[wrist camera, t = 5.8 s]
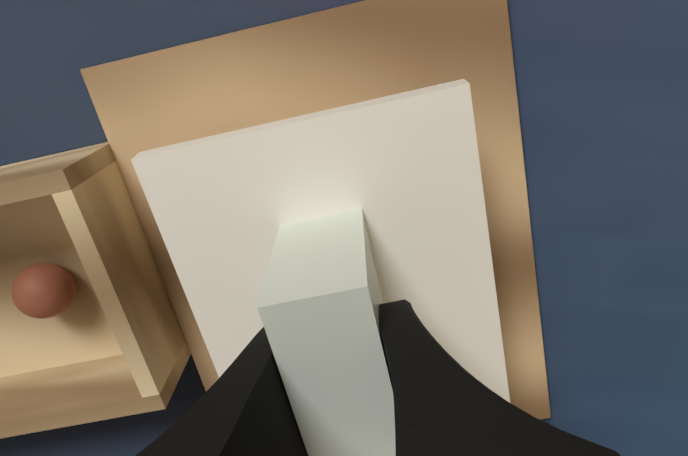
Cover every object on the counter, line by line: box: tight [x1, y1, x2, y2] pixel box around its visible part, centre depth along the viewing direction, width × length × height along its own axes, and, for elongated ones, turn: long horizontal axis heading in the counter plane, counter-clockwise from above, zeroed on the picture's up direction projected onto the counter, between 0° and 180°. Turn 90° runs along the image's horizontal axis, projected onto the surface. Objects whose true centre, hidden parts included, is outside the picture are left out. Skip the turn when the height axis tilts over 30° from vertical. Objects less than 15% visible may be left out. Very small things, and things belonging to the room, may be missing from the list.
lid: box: [131, 79, 510, 456], centre depth 13 cm, size 8×11×5 cm
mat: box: [80, 0, 551, 420], centre depth 16 cm, size 14×11×1 cm
